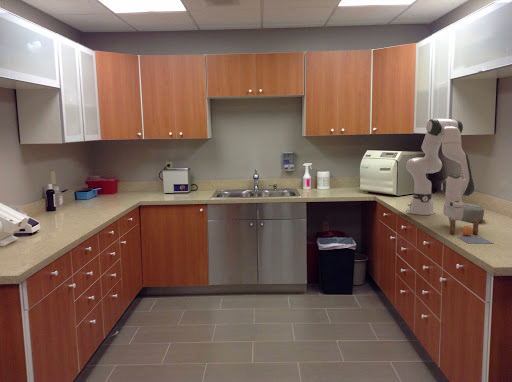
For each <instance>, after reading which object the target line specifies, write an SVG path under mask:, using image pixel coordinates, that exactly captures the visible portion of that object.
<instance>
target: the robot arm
mask: <svg viewBox="0 0 512 382" xmlns="http://www.w3.org/2000/svg"><path fill="white" fill-rule="evenodd" d="M425 127H426V134H425V136H424V139H423V141H422V144H421V151H422V152H423V153H424V154H425V155H424V156H423V157H413V158H410V159H408V160H407V161H406V164H405V168H406V171H407V172H408V173H409V174H410V175H411V176H412V179H413V182H414V185H413V186H414V187H413V188H414V190H413V194H412V199H411V200H410V201H409V202H408V203H407V206H408V208H405V211H406V212H407V214H413V215H419V216H420V215H421V216H430V215H434V214H436V211H434V201H433V200H432V198H433V195H432V187H433V186H432V181H431V180H429V179H428V178H427V176H426V174H434V173H438V172H440V171H441V169H442V168H443V163H442V161H441V159H440V157H439V152H440V151H439V150H440V148H441V153H442V155H443V157H445V158H446V159H449V160H451V161H454V162H456V163H458V164H459V165H460V166H461V168H462V169H461V170H462V174H463V175H461V174H460V175H459V174H457V173H451V174H448V175H447V178H445V179H443V180H442V181H441V182H440V183H441V186H440V191H441V192H442V193H443V194H444V195H445V198H444V204H443V210H442V214H443V215H444V216H447V217H448V221H449V225H450V221H451V220H456V221H462V218H463V207H464V204H465V202H463V200H462V197H463V196H467V197H469V196H471V195H472V194H473V193H474V192H475V183H474V180H473V176H472V170H471V164H470V160H469V156H468V154H467V153H466V152H464V149H463V146H462V136H461V135H462V133H463V129H464V126H463V123H462V121H460V120H458V119H450V118H431V119H429V120H428V121H427V124H426V126H425ZM462 177H463V178H462Z"/></svg>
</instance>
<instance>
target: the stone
mask: <svg viewBox="0 0 512 382" xmlns="http://www.w3.org/2000/svg"><path fill="white" fill-rule="evenodd" d="M484 217H485V209H484V208H483V207H482V206H481V205H478V204H475V203H469V202H468V203H464V207H463V218H462V220H461V221H464V222H467V223H473V221H474V220H479V223H480V222H482V221H483V219H484Z"/></svg>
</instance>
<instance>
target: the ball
mask: <svg viewBox="0 0 512 382" xmlns="http://www.w3.org/2000/svg"><path fill="white" fill-rule="evenodd" d="M461 233H462V235H463V236H466V237H469V236H471V235H473V227H471V226H470V225H463V227H462V228H461Z"/></svg>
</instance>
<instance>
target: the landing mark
mask: <svg viewBox="0 0 512 382" xmlns="http://www.w3.org/2000/svg"><path fill="white" fill-rule="evenodd" d="M457 238H458V239H459V238H460V240H461V241H463V242H464V243H467V244H477V245H479V244H482V245H484V244H487V245H488V244H489V245H490V244H491V245H492V244H494V242H492V241H490V240H488V239H487V238H484V237H482V236H457Z"/></svg>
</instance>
